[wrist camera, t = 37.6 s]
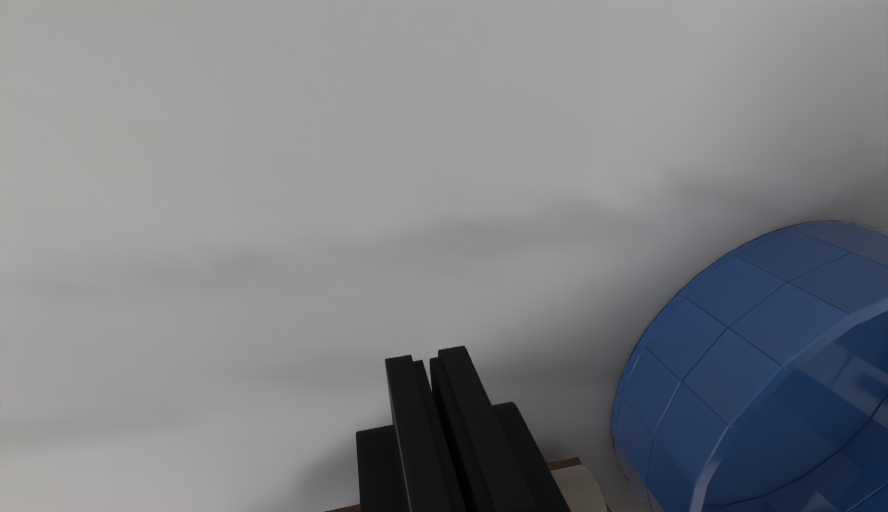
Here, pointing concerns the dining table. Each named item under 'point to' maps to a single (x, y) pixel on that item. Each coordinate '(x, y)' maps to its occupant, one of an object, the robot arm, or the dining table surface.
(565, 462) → the drawer
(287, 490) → the dining table surface
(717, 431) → the bowl
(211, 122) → the dining table surface
